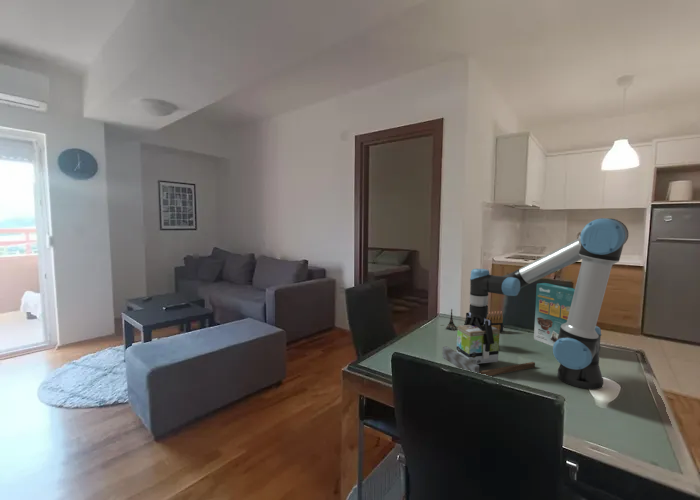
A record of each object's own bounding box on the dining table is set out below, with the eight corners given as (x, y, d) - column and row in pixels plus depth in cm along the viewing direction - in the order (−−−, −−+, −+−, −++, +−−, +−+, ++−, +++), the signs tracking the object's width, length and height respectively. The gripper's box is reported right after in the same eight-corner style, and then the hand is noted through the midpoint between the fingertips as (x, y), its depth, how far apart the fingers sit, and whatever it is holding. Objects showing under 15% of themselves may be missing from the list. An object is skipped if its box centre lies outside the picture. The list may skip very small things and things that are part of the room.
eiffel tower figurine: (465, 334, 192) (466, 310, 190) (447, 334, 191) (448, 311, 190) (456, 325, 207) (456, 304, 205) (439, 326, 206) (440, 304, 205)
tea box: (469, 366, 144) (470, 332, 143) (455, 357, 154) (456, 325, 152) (499, 362, 148) (500, 329, 147) (484, 353, 158) (485, 322, 157)
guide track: (534, 367, 148) (535, 356, 147) (474, 378, 138) (475, 366, 137) (497, 348, 169) (497, 338, 168) (442, 357, 159) (442, 346, 158)
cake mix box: (582, 352, 164) (586, 291, 161) (573, 354, 162) (577, 292, 159) (542, 337, 184) (544, 282, 182) (533, 339, 182) (536, 283, 179)
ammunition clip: (501, 330, 196) (502, 310, 195) (503, 331, 194) (503, 310, 193) (483, 331, 195) (484, 310, 194) (485, 332, 193) (485, 311, 192)
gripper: (505, 310, 139) (503, 362, 141) (469, 297, 161) (467, 343, 163) (490, 311, 137) (488, 365, 139) (455, 299, 158) (454, 345, 160)
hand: (477, 353), depth 151 cm, fingers closed on tea box, 10 cm apart
